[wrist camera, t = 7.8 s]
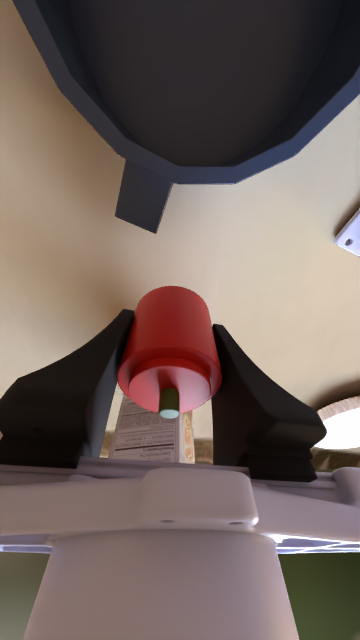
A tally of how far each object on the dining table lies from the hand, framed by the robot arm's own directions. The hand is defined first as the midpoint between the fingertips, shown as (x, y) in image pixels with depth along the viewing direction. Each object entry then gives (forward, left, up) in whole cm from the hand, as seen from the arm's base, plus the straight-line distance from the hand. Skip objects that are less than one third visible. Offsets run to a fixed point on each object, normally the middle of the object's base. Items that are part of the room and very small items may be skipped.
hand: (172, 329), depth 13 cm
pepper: (0, 0, -1) cm, 1 cm away
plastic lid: (-34, +11, -7) cm, 36 cm away
